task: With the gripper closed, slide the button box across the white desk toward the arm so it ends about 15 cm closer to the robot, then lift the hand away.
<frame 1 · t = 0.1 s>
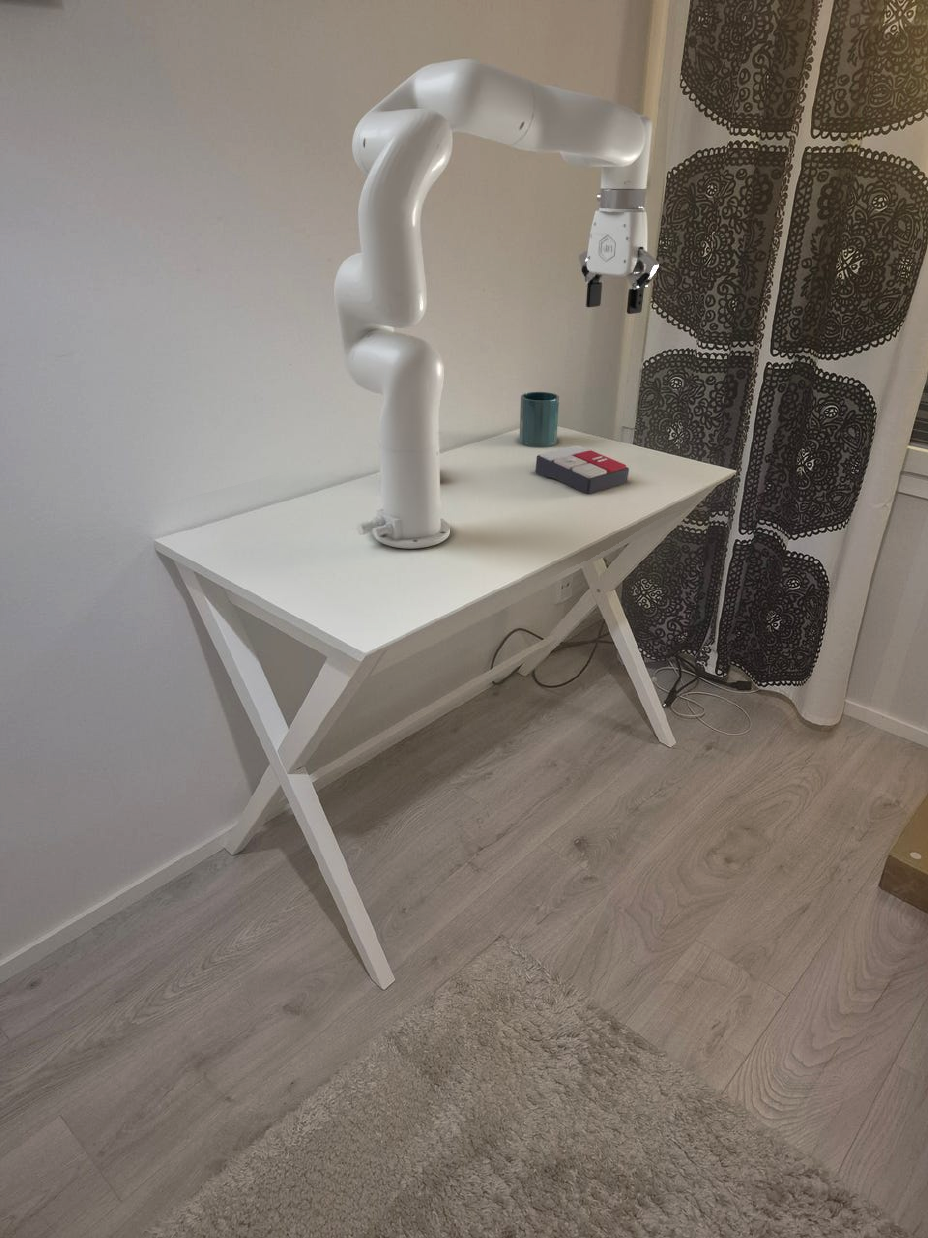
hand: (613, 309, 143), 31 cm above the table, tool pointing down, fingers open, 9 cm apart
pen pot: (538, 441, 179), on the table
button box: (580, 478, 158), on the table
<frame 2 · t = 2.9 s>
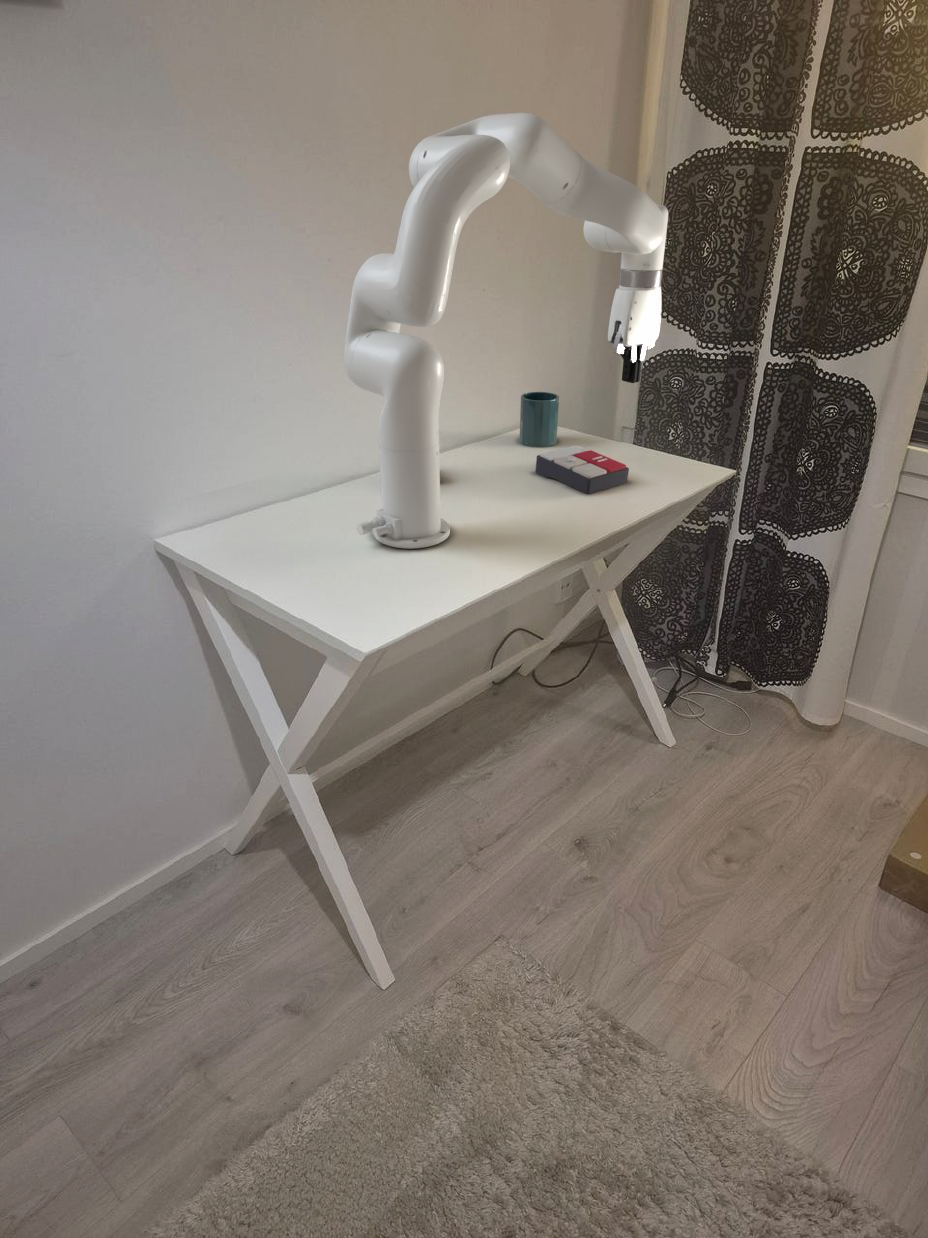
hand: (630, 381, 156), 17 cm above the table, tool pointing down, fingers closed
nothing on the table moved.
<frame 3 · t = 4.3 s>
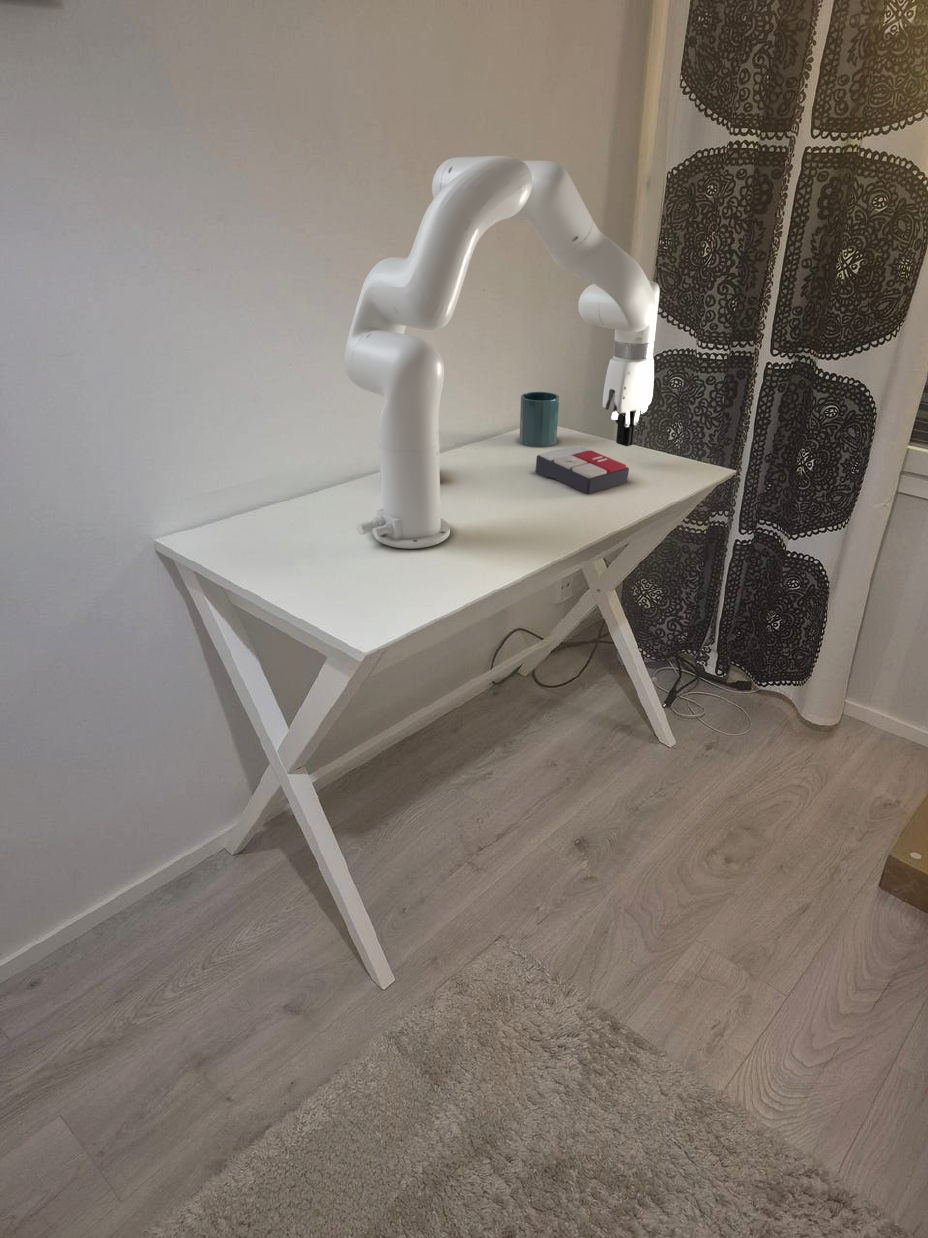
hand: (624, 443, 162), 5 cm above the table, tool pointing down, fingers closed
nothing on the table moved.
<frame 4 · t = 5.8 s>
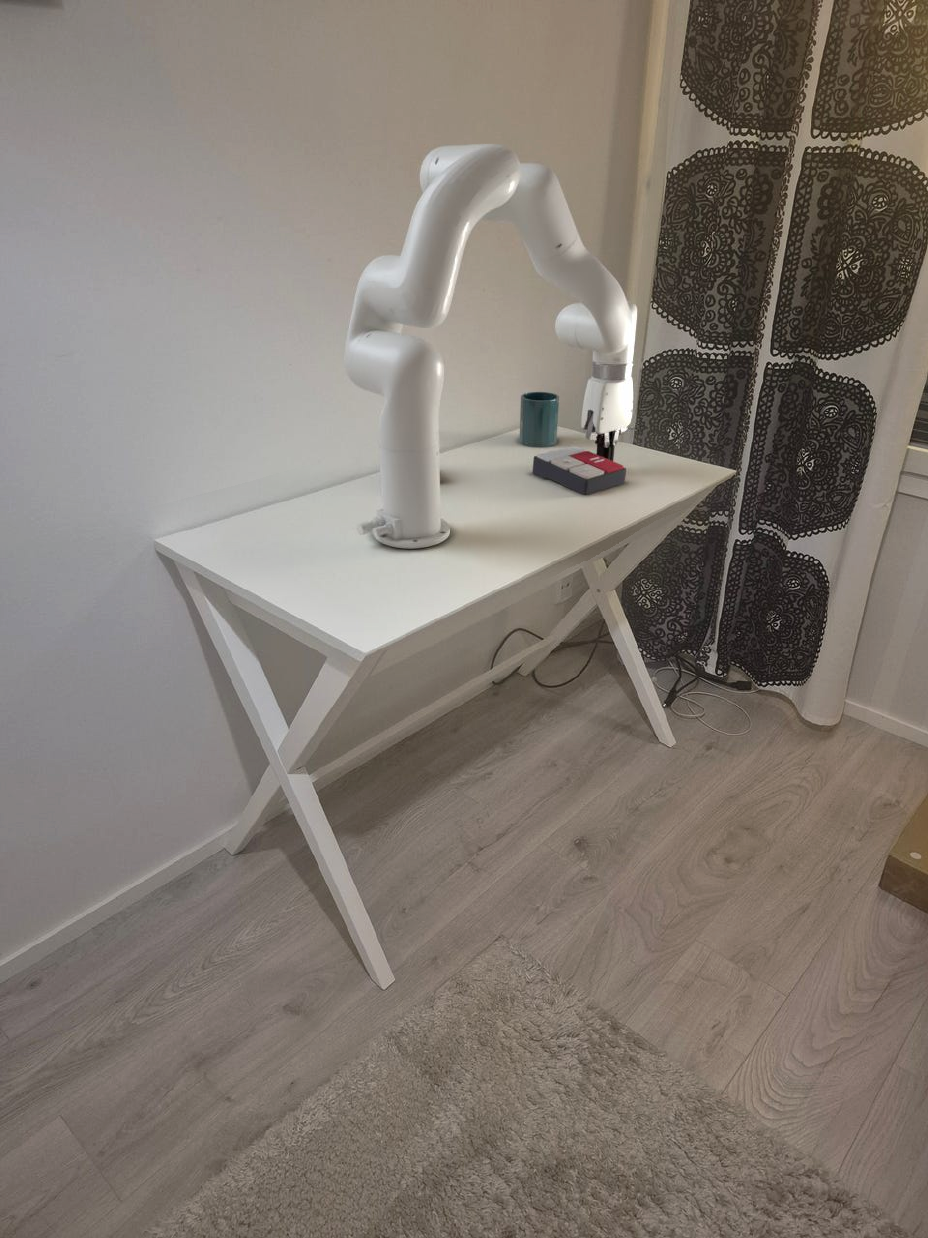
hand: (604, 463, 161), 1 cm above the table, tool pointing down, fingers closed
button box: (577, 479, 158), on the table, touching gripper
everything else where it was.
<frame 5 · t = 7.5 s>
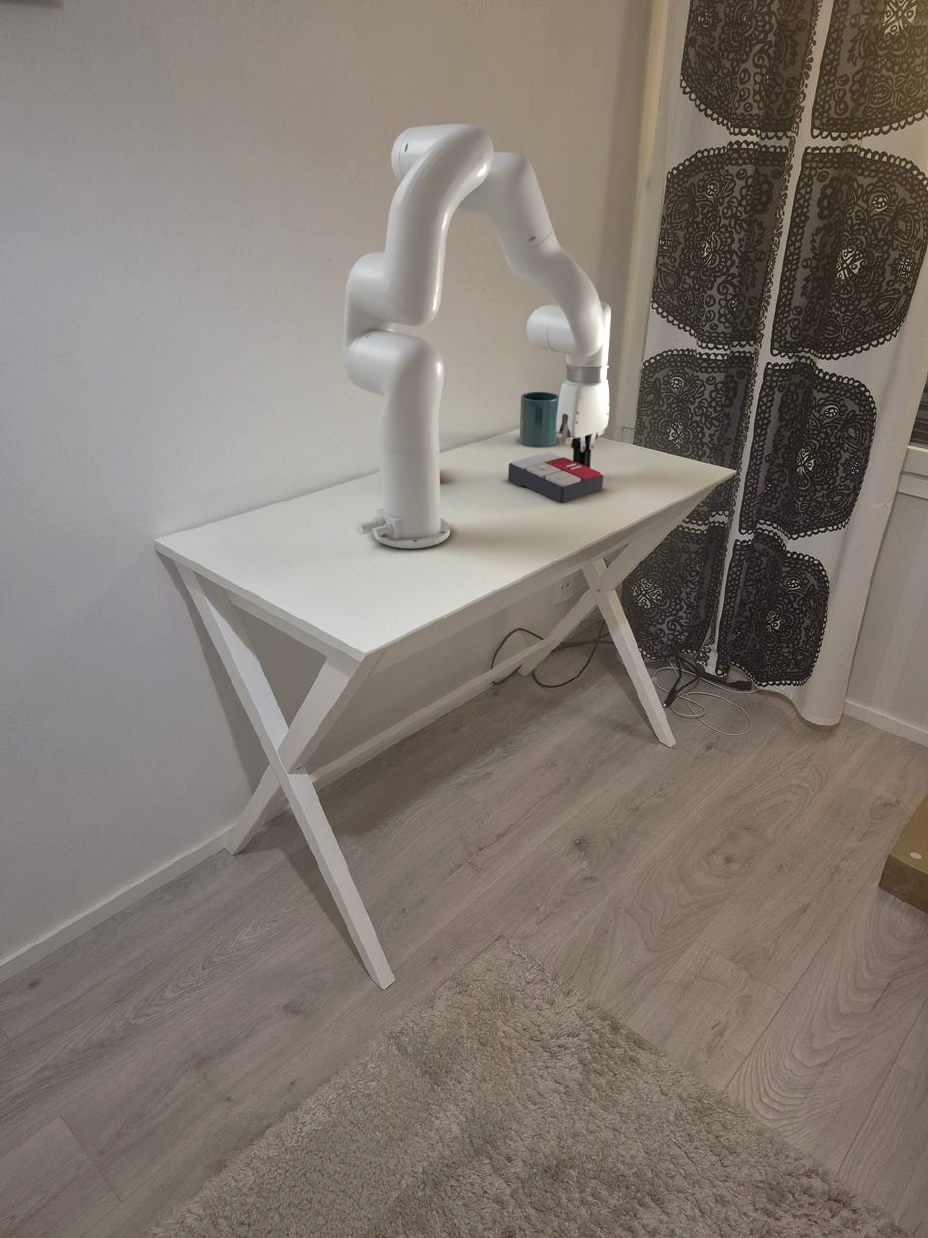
hand: (581, 468, 157), 2 cm above the table, tool pointing down, fingers closed
button box: (554, 486, 154), on the table, touching gripper
everything else where it was.
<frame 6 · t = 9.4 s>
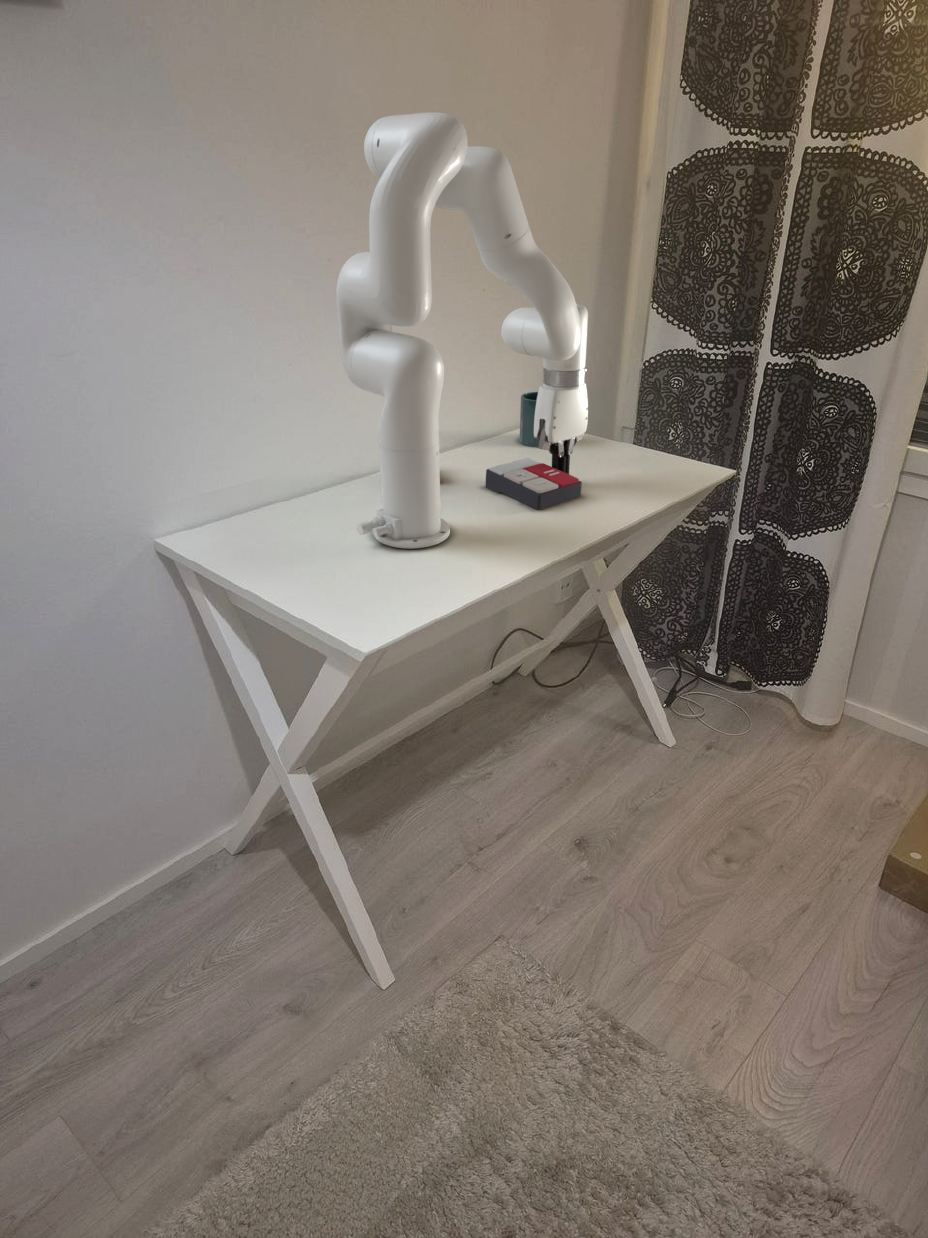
hand: (560, 473, 154), 2 cm above the table, tool pointing down, fingers closed
button box: (532, 493, 151), on the table, touching gripper
everything else where it was.
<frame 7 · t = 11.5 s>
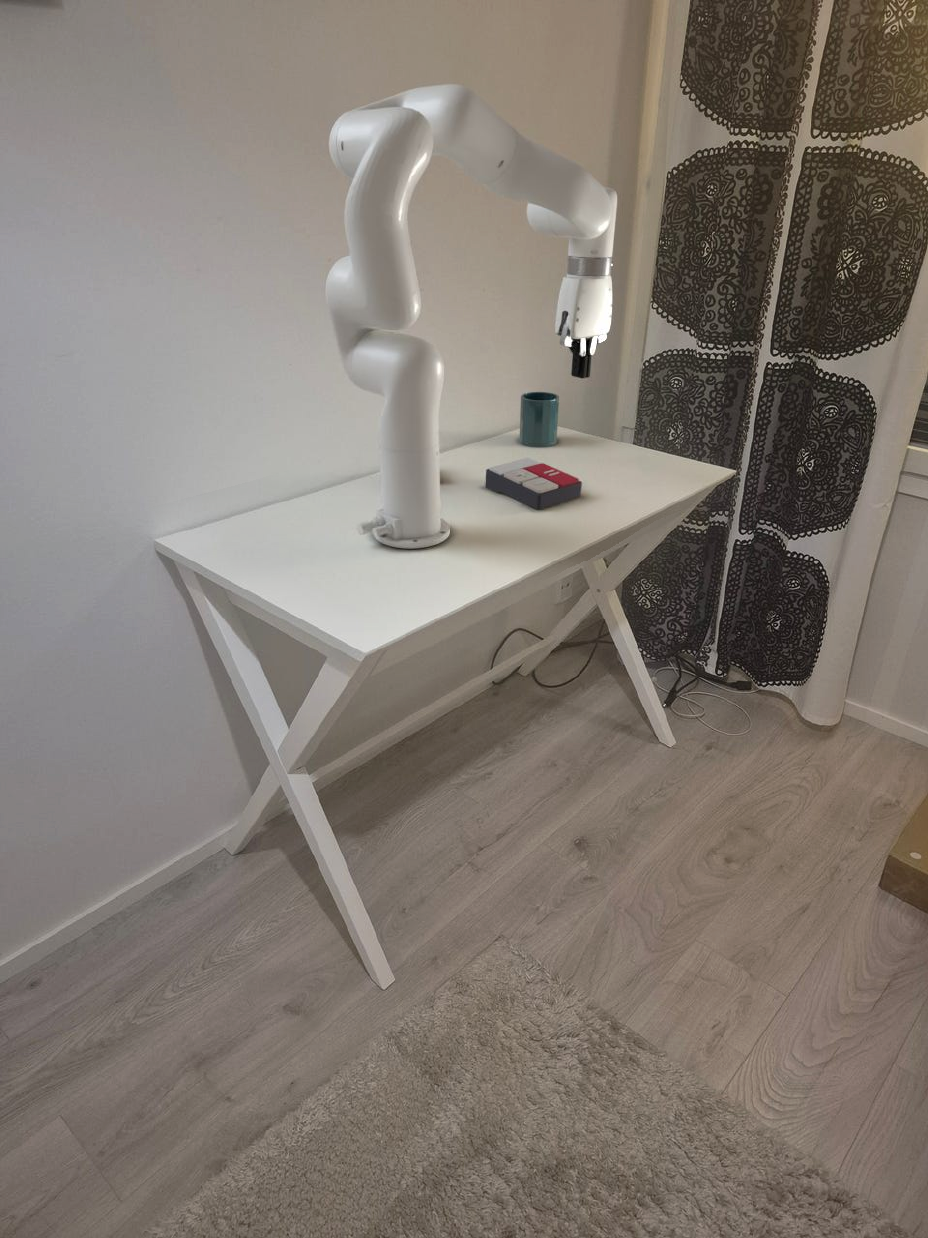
hand: (580, 376, 147), 20 cm above the table, tool pointing down, fingers closed
button box: (532, 493, 151), on the table
everything else where it was.
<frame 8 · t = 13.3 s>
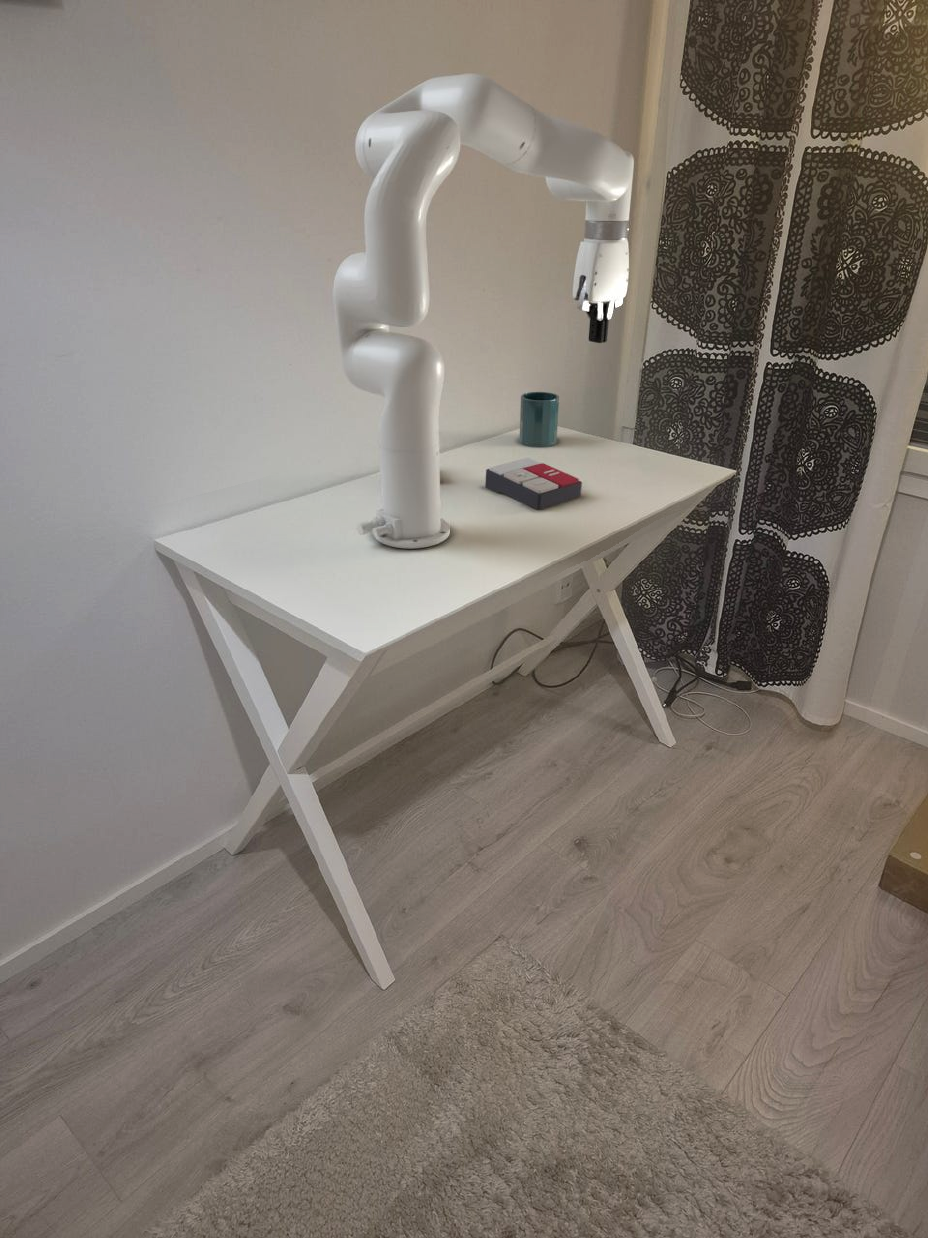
hand: (597, 341, 149), 25 cm above the table, tool pointing down, fingers closed
nothing on the table moved.
at the end: button box inside the target area (1.6 cm from its centre), on the table; button box moved 12.9 cm from its start; button box tilted 2° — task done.
